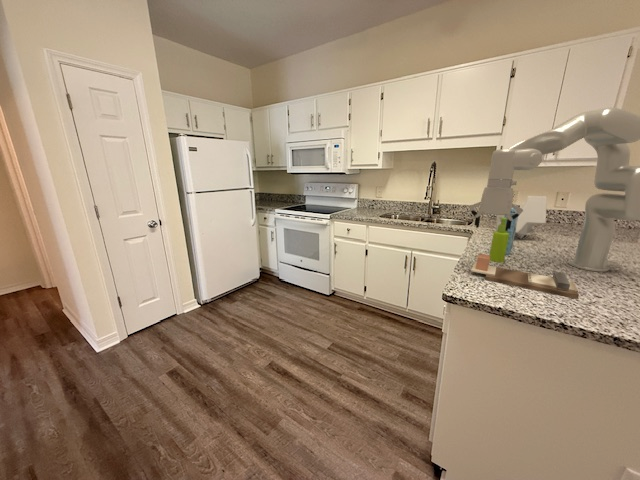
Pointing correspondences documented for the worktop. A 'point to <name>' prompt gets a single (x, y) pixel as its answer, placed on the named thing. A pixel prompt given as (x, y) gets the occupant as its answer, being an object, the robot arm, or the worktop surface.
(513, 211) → the light blue box
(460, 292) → the worktop surface
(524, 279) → the ticket board
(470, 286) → the worktop surface
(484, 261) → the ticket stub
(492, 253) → the soap dispenser
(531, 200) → the white box
